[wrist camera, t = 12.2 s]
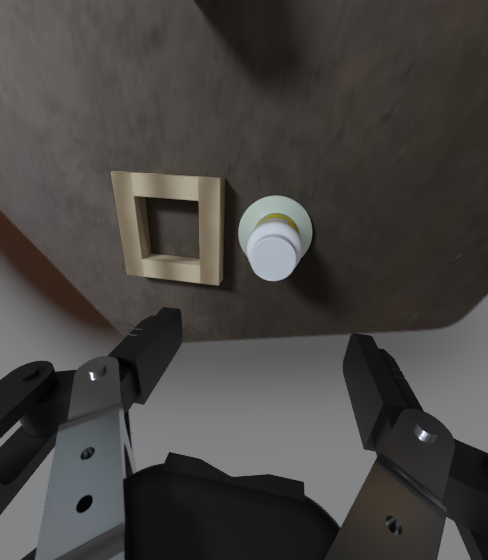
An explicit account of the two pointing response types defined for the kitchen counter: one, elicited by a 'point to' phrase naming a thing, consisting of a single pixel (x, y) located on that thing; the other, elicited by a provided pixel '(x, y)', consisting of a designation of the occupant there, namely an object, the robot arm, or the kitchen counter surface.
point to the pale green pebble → (275, 206)
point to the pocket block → (136, 231)
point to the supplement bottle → (274, 247)
